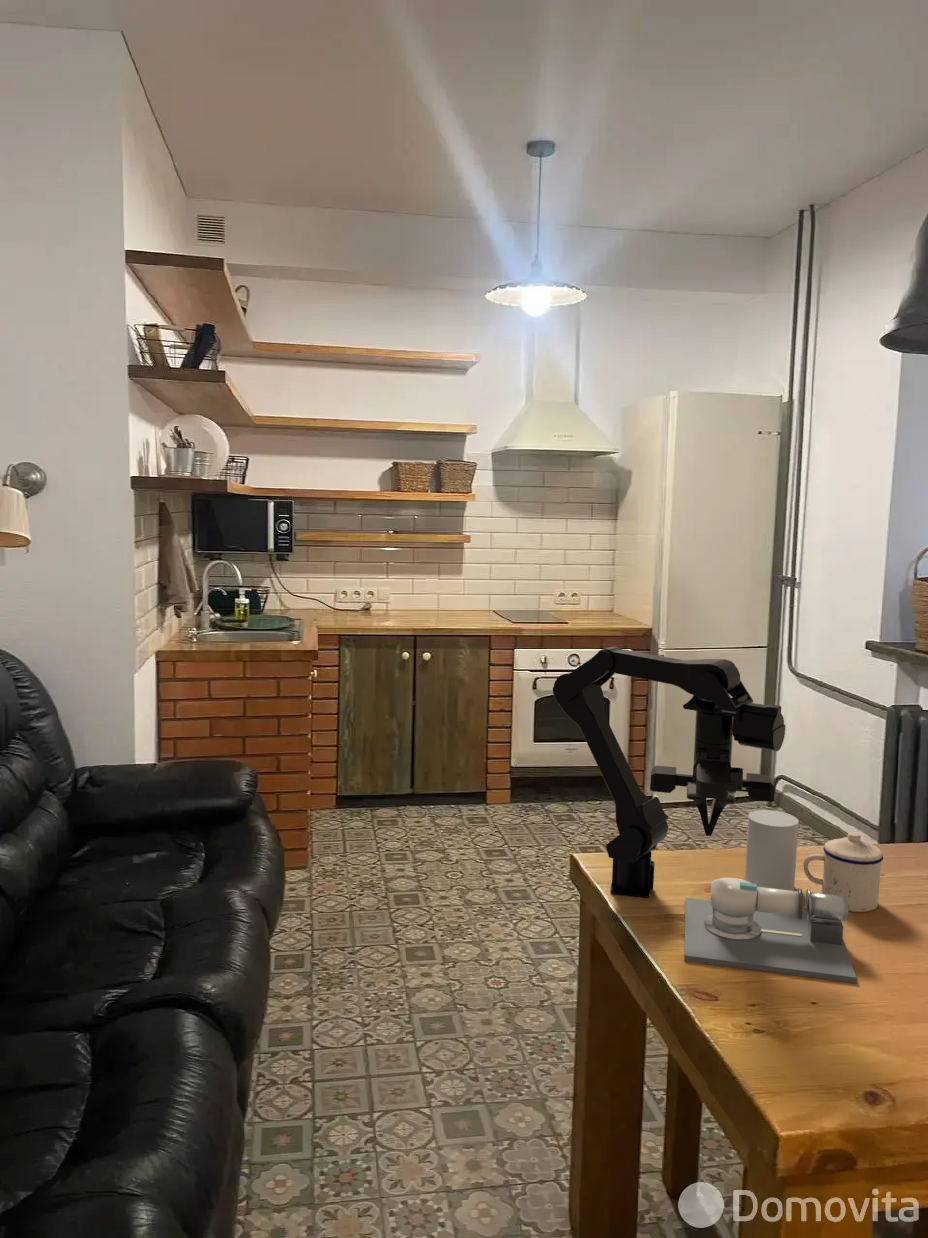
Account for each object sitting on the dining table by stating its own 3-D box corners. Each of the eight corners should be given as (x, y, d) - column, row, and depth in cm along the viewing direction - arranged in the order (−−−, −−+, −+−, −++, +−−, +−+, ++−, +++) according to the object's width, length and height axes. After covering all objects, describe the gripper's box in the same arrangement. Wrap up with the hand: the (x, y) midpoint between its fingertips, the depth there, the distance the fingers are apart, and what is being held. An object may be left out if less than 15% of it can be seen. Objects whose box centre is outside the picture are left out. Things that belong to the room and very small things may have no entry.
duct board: (684, 960, 132) (684, 954, 132) (685, 902, 151) (685, 896, 151) (856, 983, 127) (856, 976, 127) (834, 919, 146) (834, 914, 146)
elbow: (710, 916, 138) (711, 888, 138) (710, 898, 145) (711, 871, 144) (802, 928, 135) (804, 899, 134) (798, 908, 141) (799, 881, 141)
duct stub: (704, 936, 138) (705, 916, 138) (703, 912, 146) (704, 893, 146) (762, 943, 136) (764, 923, 136) (758, 918, 144) (760, 899, 144)
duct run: (806, 943, 136) (810, 896, 135) (803, 929, 141) (806, 884, 140) (846, 947, 135) (849, 901, 134) (841, 934, 139) (844, 888, 138)
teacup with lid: (876, 894, 156) (881, 828, 154) (882, 917, 147) (887, 847, 146) (800, 884, 159) (805, 819, 158) (802, 906, 151) (807, 837, 149)
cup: (787, 877, 162) (791, 811, 161) (799, 896, 154) (804, 827, 153) (740, 874, 163) (744, 809, 162) (749, 894, 155) (753, 825, 154)
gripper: (650, 748, 139) (646, 847, 142) (780, 758, 135) (774, 860, 137) (653, 730, 150) (649, 823, 152) (773, 739, 146) (768, 834, 148)
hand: (708, 835), depth 147 cm, fingers closed
